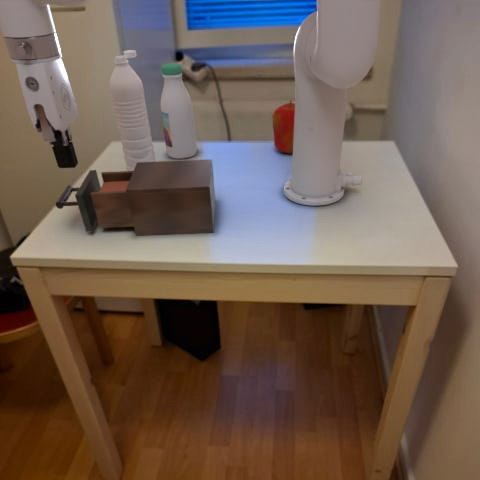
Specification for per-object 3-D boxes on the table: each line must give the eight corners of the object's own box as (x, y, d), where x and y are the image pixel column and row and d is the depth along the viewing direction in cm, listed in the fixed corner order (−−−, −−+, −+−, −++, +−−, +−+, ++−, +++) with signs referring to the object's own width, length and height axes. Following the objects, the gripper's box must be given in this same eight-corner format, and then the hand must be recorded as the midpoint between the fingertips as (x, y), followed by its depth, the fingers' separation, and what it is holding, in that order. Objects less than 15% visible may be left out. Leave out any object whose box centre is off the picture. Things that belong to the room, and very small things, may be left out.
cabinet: (135, 235, 81) (125, 189, 75) (145, 205, 90) (137, 162, 84) (213, 232, 81) (209, 186, 75) (215, 202, 90) (212, 159, 84)
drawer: (60, 232, 81) (47, 196, 77) (75, 205, 90) (64, 171, 85) (157, 229, 81) (151, 192, 76) (164, 202, 89) (158, 167, 84)
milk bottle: (200, 148, 113) (191, 60, 100) (193, 159, 108) (183, 68, 94) (171, 147, 114) (159, 61, 101) (163, 159, 109) (149, 69, 95)
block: (135, 204, 87) (129, 180, 83) (130, 217, 83) (125, 192, 79) (110, 205, 87) (103, 181, 83) (104, 218, 83) (97, 193, 80)
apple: (272, 144, 114) (273, 95, 106) (305, 144, 113) (308, 94, 105) (270, 157, 107) (271, 105, 99) (305, 157, 106) (308, 105, 98)
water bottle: (152, 189, 96) (128, 59, 80) (125, 187, 98) (96, 59, 81) (166, 172, 102) (147, 49, 86) (140, 171, 104) (117, 49, 87)
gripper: (42, 57, 61) (78, 183, 73) (72, 38, 72) (98, 150, 84) (-11, 59, 61) (33, 184, 73) (26, 40, 72) (60, 151, 84)
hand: (68, 165), depth 79 cm, fingers closed
